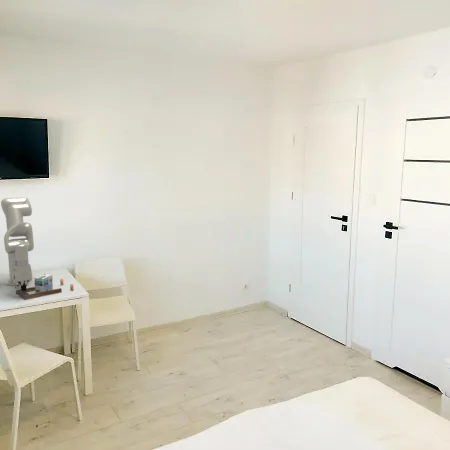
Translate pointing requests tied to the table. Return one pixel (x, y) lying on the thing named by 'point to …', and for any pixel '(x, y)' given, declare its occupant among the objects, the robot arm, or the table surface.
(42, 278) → the light bulb box
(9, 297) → the table surface
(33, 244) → the robot arm
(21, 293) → the mat
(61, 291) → the guide channel
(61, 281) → the posts
